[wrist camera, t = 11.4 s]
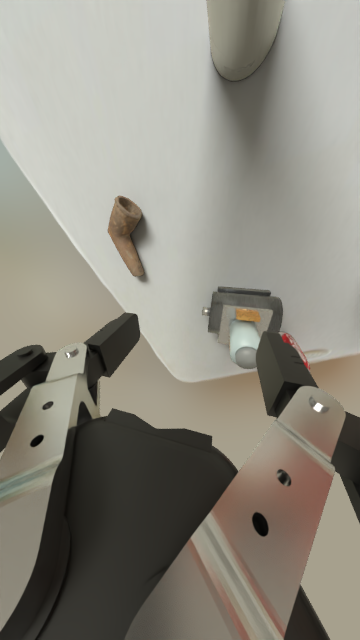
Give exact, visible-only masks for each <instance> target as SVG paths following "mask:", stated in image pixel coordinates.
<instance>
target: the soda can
mask: <svg viewBox="0 0 360 640" xmlns="http://www.w3.org/2000/svg"><path fill="white" fill-rule="evenodd" d="M279 333H280V335H281V337H282V339H283V341H284V342H285V343H289V344H290V345H292V346H293V347H294V348H295V349H296V350H297V351H298V353H299V355H300V357H301V359H302V360H303V362H304V365H306V367H307V369H308V371H309V372H310V365H309V363H308V361H307V359H306V357H305V355H304V354H303V352H302V350H301V349H300V347H299V345H298V344H297V342H296V341H295V340H294V338H293V337H292V336H291V335H289V334H287V333H283V332H279Z"/></svg>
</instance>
